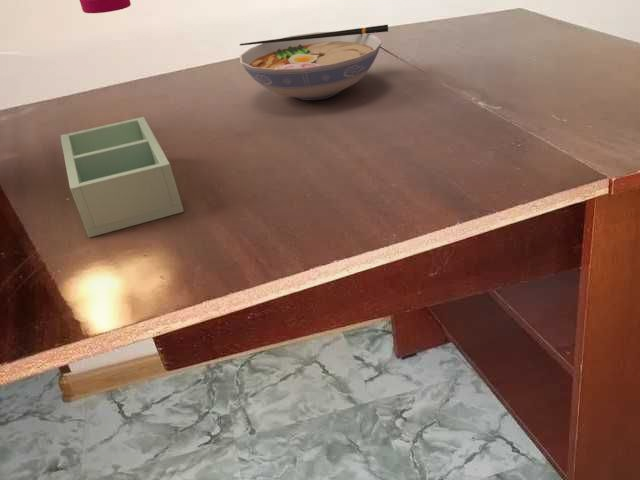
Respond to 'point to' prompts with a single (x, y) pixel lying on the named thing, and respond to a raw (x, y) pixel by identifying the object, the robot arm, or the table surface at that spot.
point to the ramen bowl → (313, 61)
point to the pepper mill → (103, 5)
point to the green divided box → (119, 176)
